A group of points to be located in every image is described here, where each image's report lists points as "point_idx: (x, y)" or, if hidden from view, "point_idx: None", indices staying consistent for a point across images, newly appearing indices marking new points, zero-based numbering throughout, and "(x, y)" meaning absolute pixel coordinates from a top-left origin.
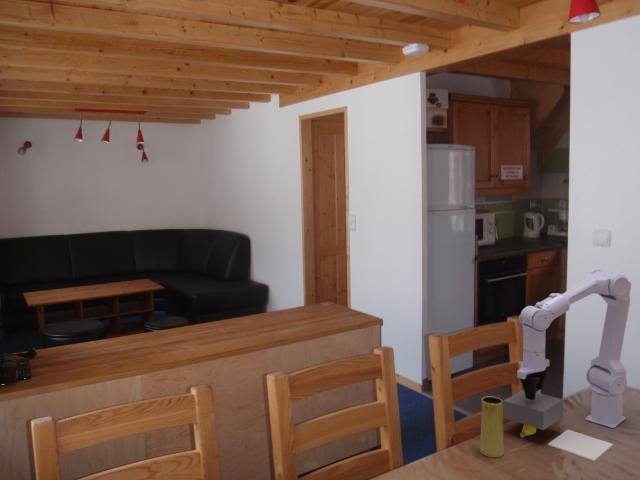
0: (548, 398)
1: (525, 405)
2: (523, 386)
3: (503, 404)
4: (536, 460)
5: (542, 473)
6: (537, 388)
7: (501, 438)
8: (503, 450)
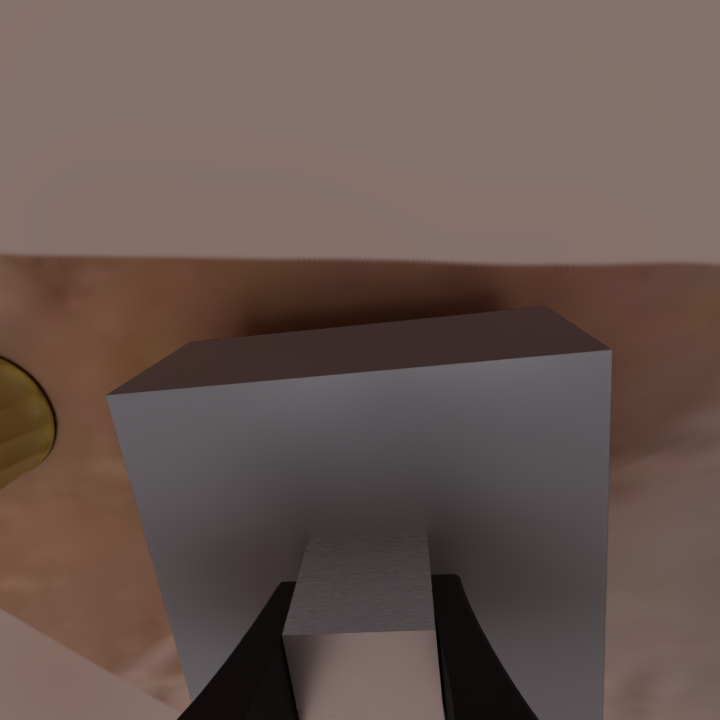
0: (526, 658)
1: (194, 603)
2: (190, 711)
3: (130, 380)
4: (138, 584)
5: (75, 645)
6: (446, 710)
7: None
8: (25, 471)
